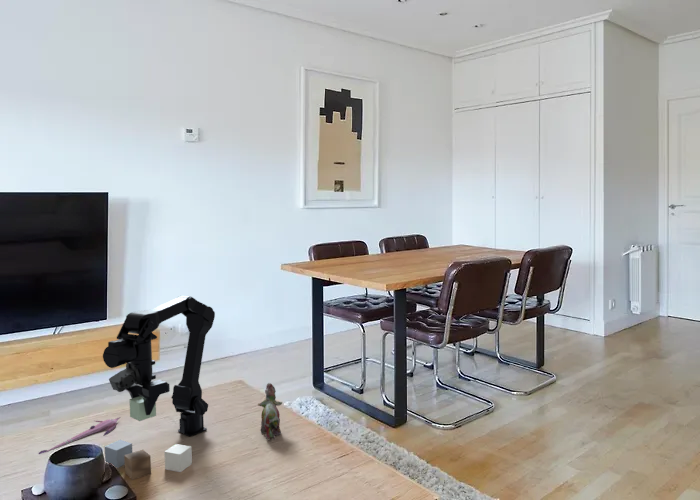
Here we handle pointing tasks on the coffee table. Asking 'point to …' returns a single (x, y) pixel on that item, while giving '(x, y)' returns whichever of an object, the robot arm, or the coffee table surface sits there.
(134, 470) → the walnut block
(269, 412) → the figurine
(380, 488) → the coffee table surface
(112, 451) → the slate block
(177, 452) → the cream block
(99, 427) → the toy
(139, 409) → the sage block
